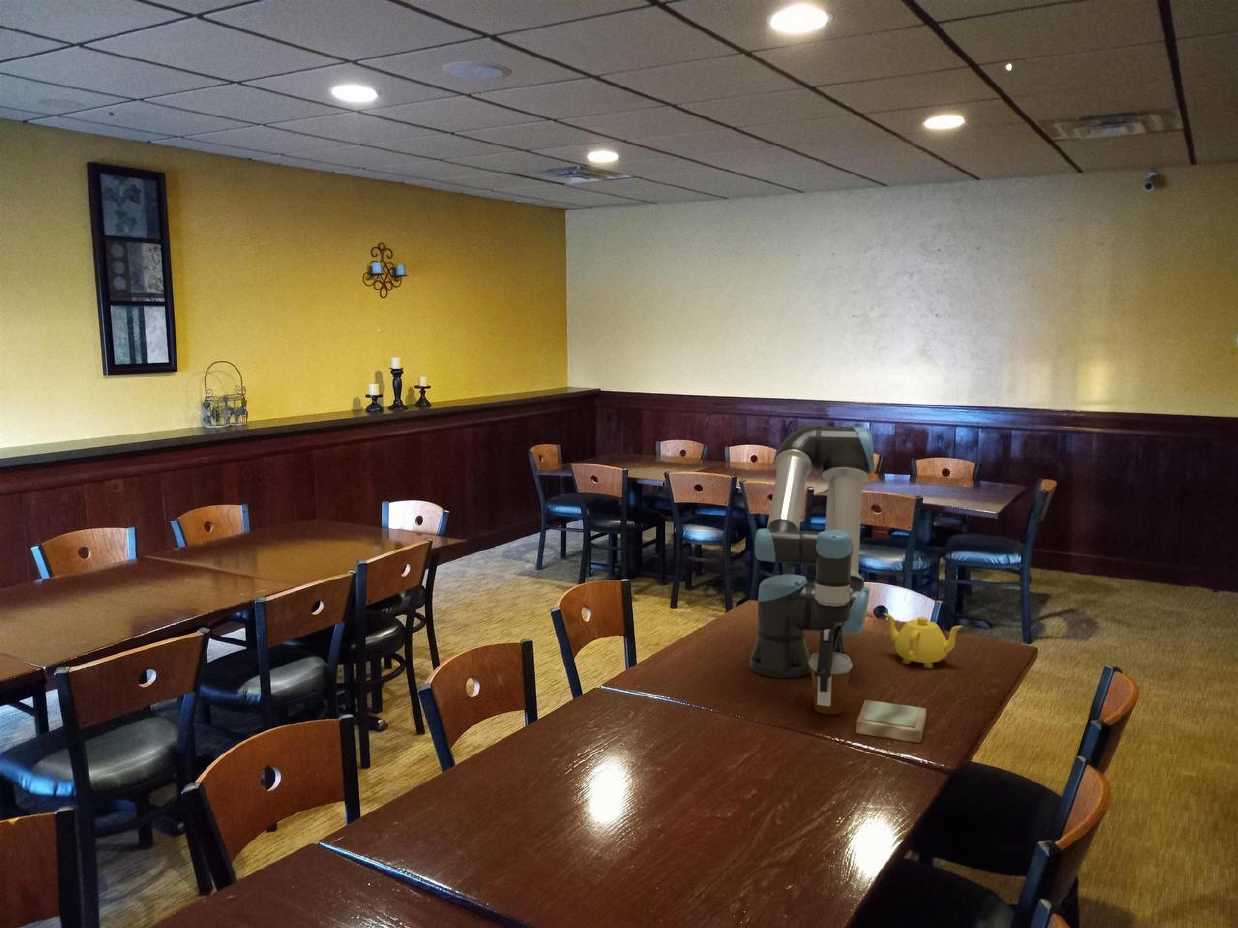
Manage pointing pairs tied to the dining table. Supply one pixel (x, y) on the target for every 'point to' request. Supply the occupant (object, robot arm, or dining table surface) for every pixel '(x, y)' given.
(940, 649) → the teapot
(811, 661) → the disposable coffee cup
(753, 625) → the dining table surface
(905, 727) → the trivet
